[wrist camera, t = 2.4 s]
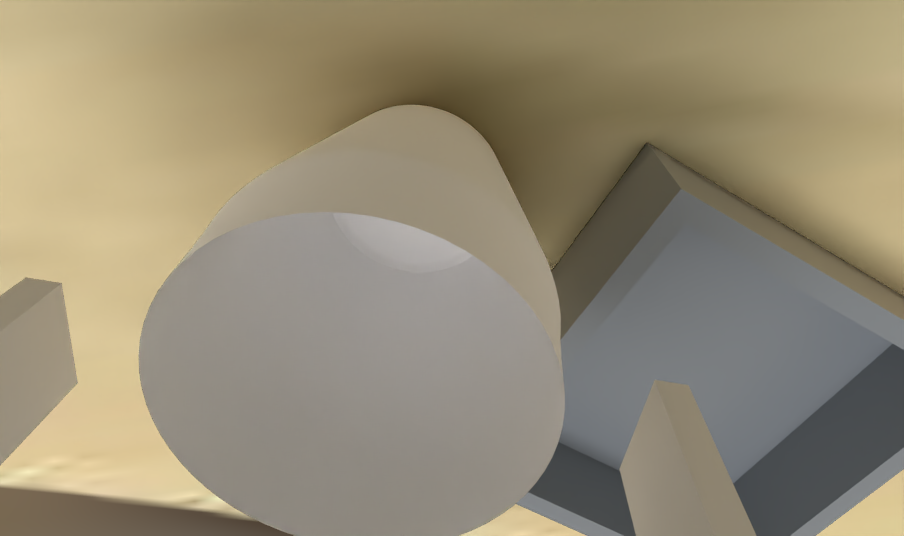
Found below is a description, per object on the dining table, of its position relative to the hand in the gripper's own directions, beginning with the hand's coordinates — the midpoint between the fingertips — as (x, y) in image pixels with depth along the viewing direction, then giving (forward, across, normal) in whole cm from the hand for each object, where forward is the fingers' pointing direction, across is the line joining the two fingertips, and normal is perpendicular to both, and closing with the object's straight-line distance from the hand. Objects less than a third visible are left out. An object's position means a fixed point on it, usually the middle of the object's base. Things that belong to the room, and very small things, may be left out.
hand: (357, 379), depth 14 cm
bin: (+11, +12, -5) cm, 17 cm away
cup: (+11, 0, 0) cm, 11 cm away
